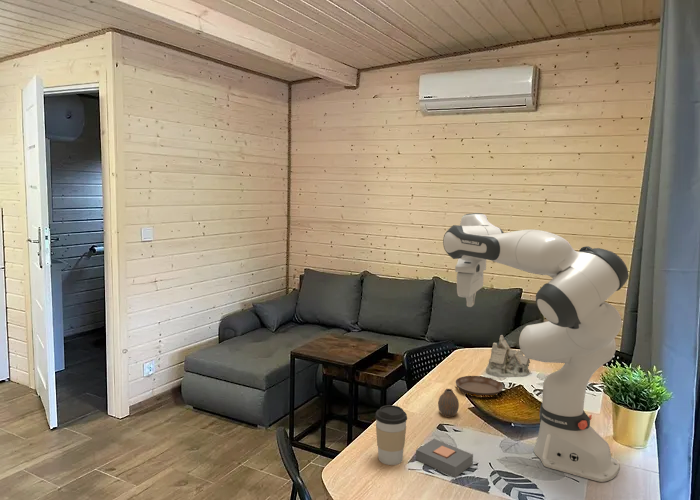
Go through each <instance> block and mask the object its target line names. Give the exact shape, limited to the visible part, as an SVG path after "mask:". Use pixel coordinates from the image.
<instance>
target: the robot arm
mask: <svg viewBox="0 0 700 500" xmlns="http://www.w3.org/2000/svg"><path fill="white" fill-rule="evenodd" d="M460 219H461V220H460V224H459V225H456V224H453V225H451V227H449V229H447V230H446V232H445V233H444V235H443V238H442V239H443V240H442V245H443V249H444V251H445V253H446V254H447V255H448V256H449V257H450V258H451V259H453V260H457V262H456V264H455V268H454V270H455V271H454V272H455V273H456V294H457V296H458V297H459V298H463V299H464V298H465V301H466V307H468V308H472V307H473V306H474V305H475V300H476V296H477V295H476V294H477V292H478V291H479V290H481V289H482V288H483V286H484V271H486V270H487V261H491V262H494V263H497V264H501V265H504V266H508V267H510V268H513V269H516V270H520V271H523V272H526V273H530V274H535V275H541V276H549V277H551V279H550V280H549V281H548V282H547V283H544V284H543V285H542V286H541V287H540V288H539V289H538V290H537V292H536V293H535V304H536V306H537V308H538V310H539V311H540V313H541V314H542V316H543V317H544V318H545V319H546V320H547V321H544V322H539V323H535V324H534V323H533V324H528V325H526V326H524V327H523V329H522V330H521V332H520V334H519V338H518V344H519V350H521V351H522V353H523V356H525V357H526V358H528V359H529V360H532V361H537V362H542V363H551V364H552V363H554V364H555V363H556V364H563V365H562V367H561V368H559V369H557V370H556V371H554V372H551V373H550V374H548V375H547V376H546V378H545V379H544V380H543V385H542V386H543V387H542V401H541V404H540V407H539V424H540V425H539V429H538V434H537V438H536V440H535V444H534V446H533V452H534V454H535V456H537V458H539V460H540V461H541V462H542V465H543V467H546V468H549V469H553V470H555V471H560V472H563V473H566V474H570V475H574V476H577V477H581V478H585V479H588V480H592V481H595V482H597V483H598V482H600V483H605V482H608V481H611V480H612V479H614V478H615V477H616V476H617V475H618V474H619V472H620V463H619V462H618V459H617V458H616V459H615V458H614V457H612V456H611V448H610V445H609V443H608V441H606V440H605V439H604V438H603V437H602V436H601V435H600V434H599V433H598V432H597V431H596V430H595V429H594V428H593V427H592V426H591V421H592V418H593V417H592V414H590V415H589V416H588V414H587V413H586V412H585V410H584V407H585V398H586V391H587V386H588V384H589V381H590V380H591V378H592V376H594V374H595V372H596V371H598V370H599V369H600V368H601V367H602V366H603V365H605V364H607V363H608V362H610V361H611V360H612V359H613V357H614V356H615V354H616V349H617V343H616V339H615V338H617V336H618V334H619V333H620V331H621V328H622V325H623V323H622V322H623V321H622V317H621V316H622V315H621V314H620V312H619V311H618V309H617V308H616V307H615V306H614V305H612V304H611V303H608V302H607V300H608V299H609V298H610V297H612V295H614V294H615V293H616V292H618V291H620V290H621V289H622V288H623V287H624V285H626V283H627V281H628V279H629V276H630V275H629V271H628V267H627V264H626V263H625V262H624V260H623V258H622V257H620V256H619V255H618V254H617V253H615V252H613V251H611V250H608V249H603V248H599V247H597V248H595V247H594V248H592V247H591V246H587V245H586V246H582V247H581V248H579V251H577V250H575V249H574V248H573V246H572V245H571V244H570V242H569V241H568V240H567V239H565V238H564V237H562V236H561V235H559V234H555V233H553V232H550V231H546V230H541V229H521V230H515V231H508V232H504V231H503V230H502V229H501V227H499V226H496V225H494V224H493V223H491V222H490V221H489V220H488V216H487V215H486V214H484V213H480V212H475V213H466V214H464V215H463V216H462V217H461V218H460Z"/></svg>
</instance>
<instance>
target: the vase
mask: <svg viewBox="0 0 700 500" xmlns="http://www.w3.org/2000/svg"><path fill="white" fill-rule="evenodd" d="M437 406H438V410H439V412H440V414H441V415H442V416H444V417H446V418H452V417H454V416H455V415H456V414H458V411H459V408H460V407H459V406H460V403H459V399H458V397H457V396H456V394H455V392H454V390H453V389H451V388H446V389H445V390H444V391H443V393H441V395H440V396H439V398H438V405H437Z"/></svg>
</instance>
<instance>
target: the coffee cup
mask: <svg viewBox="0 0 700 500" xmlns="http://www.w3.org/2000/svg"><path fill="white" fill-rule="evenodd" d="M375 420H376V423H375V432H376V444H377V445H376V446H377V454H378V455H377V456H378V460H379V462H380V463H382V464H384V465H387V466H388V465H389V466H396V465H399V464H401V463H403V457H404V448H405V443H406V434H407V433H406V432H407V431H406V430H407V420H408V415H407V413H406V411H404V409H403V408H402V407H400V406H398V405H392V404H390V405H389V404H387V405H383V406H380V408H378V409H377V410H376V411H375Z"/></svg>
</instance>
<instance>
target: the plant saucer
mask: <svg viewBox="0 0 700 500" xmlns="http://www.w3.org/2000/svg"><path fill="white" fill-rule="evenodd" d="M455 385H456V387H457V388H458V389H459V391H460V392H461V393H462V394H465V395H466V394H467V393H469V394H476V395H495V394H497V395H499V394H500V393H501V392H502V390H503V389H504V385H503V383H501V382H500V381H498V380H496V379H493V378H491V377H487V376H482V375H465V376H461V377H458V378H457V379H456V380H455ZM498 393H499V394H498Z"/></svg>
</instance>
